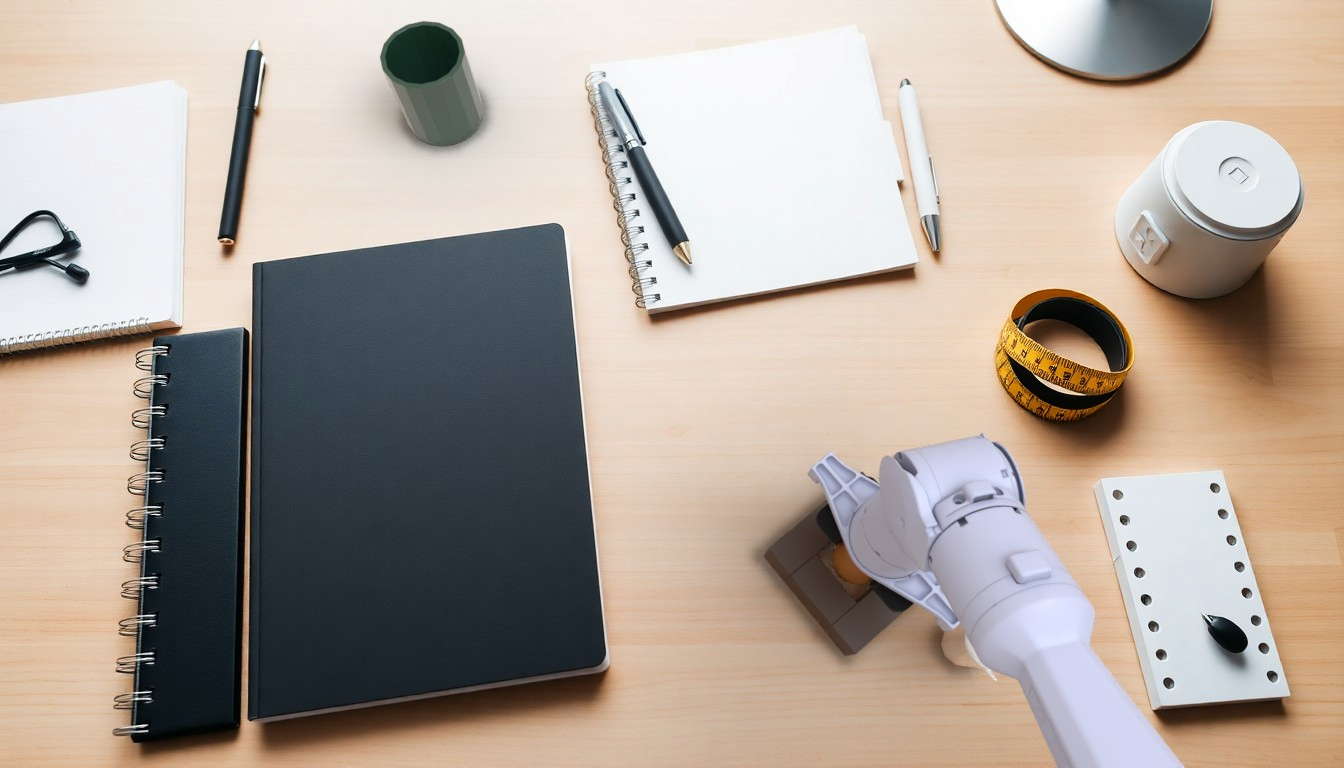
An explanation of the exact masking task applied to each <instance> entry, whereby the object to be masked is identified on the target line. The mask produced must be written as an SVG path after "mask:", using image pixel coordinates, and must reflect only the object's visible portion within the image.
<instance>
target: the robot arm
mask: <svg viewBox="0 0 1344 768" xmlns="http://www.w3.org/2000/svg"><path fill="white" fill-rule="evenodd" d="M807 476H808V477H810V479H811V480H812V481H813V482H814V483H815V484H819V485H820V488H821V490H822V491H823V493H824V496H825V498H826V500H827V501H828V504H827V505H825V506H824V507H823V508H822V509H821V510H820V511H819V512H818V514H817V516H816V523H817V525H818V526H819V527H820V529H821V530H822V531H823V532H824V533H825V534H826V536H827V537H828V538H829V539H830V540H831V541H832V542H831V543H832V544H834V545H835V546H836V545H837V544H839V543H840V542H841V541H842V540H843V541H844V544H845V546H846V549H847V551H848V553H849V555H850V558H851V559H852V561H853V562H854V564H855V565H856V566H857V567H858V568H859V569H860V570H861V571H862V572H863V573H865V574H866V575H868V576H869V577H871V578H873V579H874V580H872V581H870V582H868V585H869V586H870V588H871V587H872V588H873V591H874V592H875V593H876V594H877V595H878V596H879V598H880V599H881V600H882V601H883V602H884V603H885V605H886V606H887V607H888V608H889V609H890V610H891V611H893V612H902V611H904V612H905V611H907V610H908V609H910V608H911V607H912V606H913V605H916V606H918V607H920V608H921V609H923V610H925V611H926V612H928V613H929V614H931V615H932V616H933V617H935V619H934V620H935V623H936V624H937V625H938V626H939V628H941V630H942V631H943V632H945V631H949V630H953V629H955V628H956V627H957V626H958V625H959V624H960V625H961V626H962V628H963V630H964V632H965V634H966V636H967V638H968V640H969V642H970V643H971V645H972V647H973V648H974V650H975V652H976V654H977V656H978V658H979V660H980V661H981V663H982V664H983V665H984V666H986V667H987V668H989V669H991V670H993V671H995V673H998V674H1000V675H1002V676H1005V677H1009V678H1010V679H1011V678H1012V679H1015V680H1016V681H1017V682H1018V684H1019V686H1020V688H1021V690H1022V693H1023V695H1024V697H1025V699H1026V702H1027V704H1028V705H1029V708H1030V710H1031V712H1032V714H1033V716H1034V719H1035V721H1036V723H1037V725H1038V727H1039V731H1040V732H1041V734H1042V737H1043V739H1044V741H1045V743H1046V745H1047V747H1048V749H1049V752H1050V754H1051V756H1052V758H1053V761H1054V763H1055V765H1056V767H1057V768H1186V767H1185V766H1184V764H1183V763H1182V761H1181V760H1180V759H1179V758H1178V757H1177V755H1176V754H1175V753H1174V751H1173V750H1172V749H1171V748H1170V746H1169V745H1168V743H1166V741H1165V740H1164V739H1163V738H1162V736H1161V735H1160V734H1159V732H1158V731H1157V730H1156V729H1155V727H1154V726H1153V725H1152V723H1151V722H1150V721H1149V720H1148V718H1147V717H1146V716H1145V714H1144V713H1143V712H1142V710H1141V709H1140V708H1139V706H1138V705H1136V703H1135V701H1133V699H1132V698H1131V697H1130V695H1129V694H1128V692H1127V691H1126V690H1125V689H1124V687H1123V686H1122V685H1121V684H1120V682H1119V681H1118V680H1117V679H1116V677H1115V676H1114V675H1113V674H1112V672H1111V671H1110V670H1109V669H1108V667H1107V665H1105V664H1104V662H1103V661H1102V660H1101V658H1100V657H1099V655H1098V654H1097V653H1096V652H1095V651H1094V649H1093V648H1092V646H1091V639H1092V635H1093V631H1094V628H1095V625H1096V611H1095V608H1094V606H1093V604H1092V603H1091V602H1090V600H1089V598H1088V597H1087V596H1086V594H1085V593H1084V591H1083V590H1082V588H1081V587H1080V586H1079V584H1078V582H1077V581H1076V580H1075V578H1074V577H1073V575H1072V574H1071V572H1069V570H1068V569H1067V567H1066V565H1065V564H1064V562H1062V560H1061V558H1060V557H1059V555H1058V554H1057V553H1056V551H1055V549H1054V548H1053V547H1052V545H1051V544H1050V542H1049V541H1048V539H1047V538H1046V537H1045V535H1044V534H1043V532H1042V531H1041V529H1040V528H1039V527H1038V525H1037V524H1036V522H1035V521H1034V519H1033V518H1032V517H1031V515H1030V513H1029V512H1028V511H1027V495H1026V489H1025V488H1026V487H1025V483H1024V479H1023V476H1022V474H1021V470H1020V468H1019V466H1018V464H1017V462H1016V460H1015V458H1014V456H1013V455H1012V453H1011V452H1010V450H1009V449H1008V448H1007V447H1006V446H1005V445H1003V444H1002V443H1000V442H998V441H991V440H990V439H989V438H988V437H987V435H986V434H985V433H979V434H978V435H973V436H969V437H963V438H959V439H953V440H949V441H943V442H940V443H934V444H928V445H925V446H920V447H919V446H918V447H914V448H909V449H905V450H900V451H896V452H895V453H894V455H893V456H891V455H884V456H883V457H882V459H881V461H880V464H879V469H878V481H877V480H876V479H875V478H873V477H872V476H869V475H866V476H864V475H862V474H861V473H860V472H859V471H857V470H855V469H853V467H850V466H849V465H847V464H846V463H844V462H843V461H842V460H841V459H840V458H838V456H837V455H835V454H834V452H833V451H829V452H828V453H827V454H826V455H824V456H823V457H822V458H821V459H819V460H818V461H817V462H815V463H814V464H813V465H811V467H810V468H809V470H808V472H807ZM993 671H992V672H993Z"/></svg>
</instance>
